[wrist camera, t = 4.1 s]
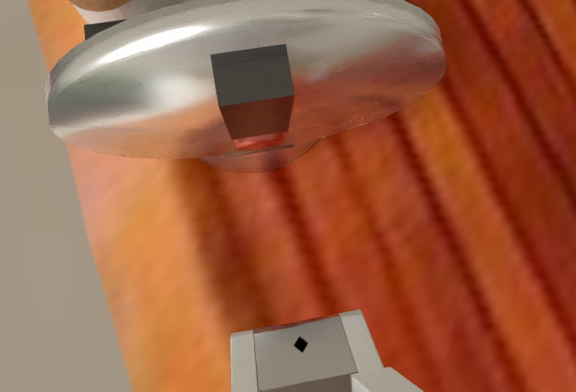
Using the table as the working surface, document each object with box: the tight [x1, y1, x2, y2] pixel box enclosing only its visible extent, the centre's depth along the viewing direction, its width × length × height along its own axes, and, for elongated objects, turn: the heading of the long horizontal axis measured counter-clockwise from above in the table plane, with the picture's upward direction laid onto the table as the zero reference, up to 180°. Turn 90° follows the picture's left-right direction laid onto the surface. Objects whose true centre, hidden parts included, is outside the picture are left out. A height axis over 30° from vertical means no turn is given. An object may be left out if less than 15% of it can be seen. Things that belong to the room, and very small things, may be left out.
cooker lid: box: [45, 0, 447, 159], centre depth 18 cm, size 15×16×2 cm
